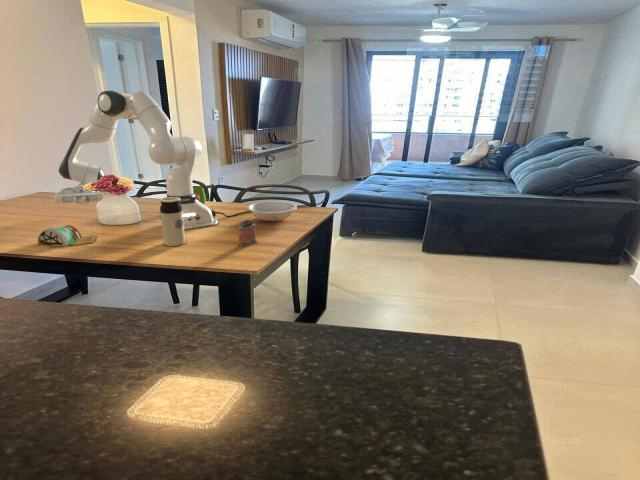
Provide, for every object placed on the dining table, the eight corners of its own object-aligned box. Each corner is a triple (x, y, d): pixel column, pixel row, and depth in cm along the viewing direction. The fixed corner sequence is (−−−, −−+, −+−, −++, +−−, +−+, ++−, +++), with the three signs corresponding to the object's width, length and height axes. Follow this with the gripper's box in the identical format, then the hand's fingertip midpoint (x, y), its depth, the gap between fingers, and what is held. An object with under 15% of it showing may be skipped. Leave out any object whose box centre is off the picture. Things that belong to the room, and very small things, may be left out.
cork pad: (95, 236, 157) (95, 235, 157) (92, 243, 150) (92, 242, 149) (55, 240, 152) (55, 239, 152) (50, 247, 144) (50, 246, 144)
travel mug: (160, 243, 151) (155, 198, 146) (179, 238, 157) (174, 195, 151) (170, 247, 146) (165, 202, 141) (189, 243, 152) (185, 199, 146)
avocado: (206, 208, 204) (205, 186, 200) (191, 209, 202) (189, 187, 198) (206, 205, 212) (204, 184, 208) (191, 206, 209) (189, 184, 206)
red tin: (252, 240, 157) (251, 216, 154) (257, 242, 155) (257, 218, 152) (236, 245, 151) (235, 220, 148) (242, 247, 149) (241, 222, 146)
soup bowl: (282, 211, 203) (282, 199, 200) (305, 222, 184) (305, 209, 181) (240, 217, 190) (239, 204, 188) (260, 229, 171) (259, 215, 169)
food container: (81, 223, 152) (61, 230, 143) (84, 238, 154) (64, 246, 145) (55, 221, 154) (33, 228, 145) (58, 235, 156) (36, 243, 147)
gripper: (109, 199, 183) (106, 206, 171) (59, 202, 176) (52, 209, 164) (107, 186, 181) (104, 192, 169) (56, 189, 174) (49, 195, 162)
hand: (78, 200), depth 166 cm, fingers closed
